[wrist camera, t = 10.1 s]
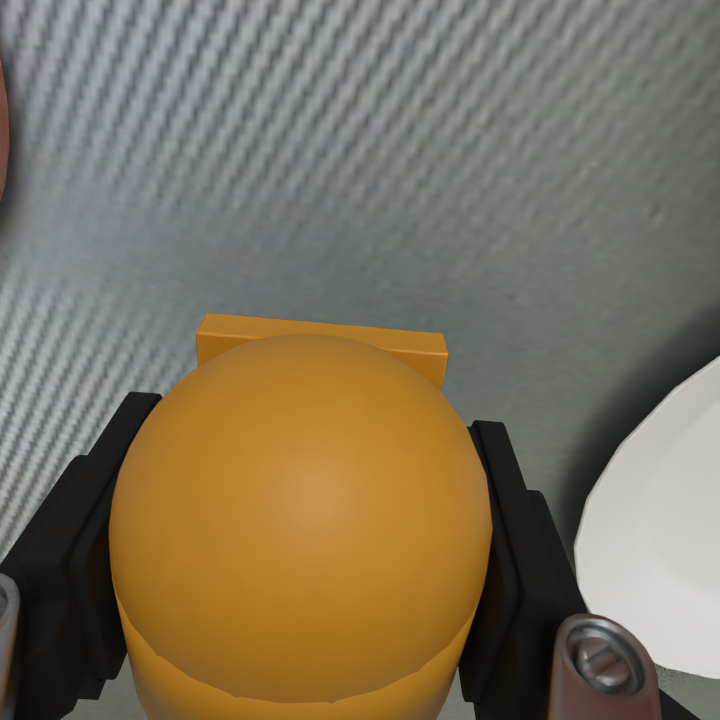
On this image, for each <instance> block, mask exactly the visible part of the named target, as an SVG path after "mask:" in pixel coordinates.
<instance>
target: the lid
mask: <svg viewBox="0 0 720 720" xmlns="http://www.w3.org/2000/svg"><path fill="white" fill-rule="evenodd" d="M9 148H10V146H9V114H8V101H7V95H6V89H5V82H4V76H3V70H2V63H1V58H0V202H1V199H2V195H3V191H4V188H5V184H6V175H7V166H8V157H9Z"/></svg>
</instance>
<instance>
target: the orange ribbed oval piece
mask: <svg viewBox="0 0 720 720" xmlns="http://www.w3.org/2000/svg"><path fill="white" fill-rule="evenodd" d="M196 343H197V357H198V367H197V368H196V369H194V370H193V371H191V372H190V373H189V374H188V375H187V376H186V377H185V378H183V379H182V380H181V381H180V382H179V383H178V384H177V385H176V386H175V387H174V388H173V389H172V390H171V391H170V392H169V393H168V394H167V395H166V396H164V397H163V398H162V399H161V400H160V401H159V402H158V404H157V405H156V406H155V408H154V409H153V410H152V412H151V413H150V414H149V416H148V417H147V418H146V420H145V421H144V423H143V424H142V426H141V428H140V430H139V431H138V433H137V435H136V437H135V438H134V440H133V442H132V443H131V445H130V447H129V449H128V452H127V454H126V457H125V459H124V462H123V464H122V466H121V469H120V471H119V475H118V479H117V483H116V487H115V491H114V495H113V499H112V505H111V514H110V522H109V550H110V564H111V572H112V581H113V585H114V590H115V595H116V599H117V604H118V609H119V614H120V618H121V623H122V628H123V632H124V637H125V642H126V646H127V651H128V656H129V661H130V665H131V670H132V675H133V679H134V683H135V687H136V691H137V694H138V697H139V700H140V703H141V705H142V707H143V709H144V711H145V714H146V716H147V718H148V720H436V718H437V717H438V715H439V713H440V711H441V709H442V707H443V705H444V703H445V701H446V698H447V696H448V693H449V690H450V687H451V684H452V682H453V679H454V676H455V673H456V670H457V667H458V664H459V660H460V657H461V654H462V651H463V648H464V645H465V642H466V639H467V636H468V633H469V630H470V627H471V624H472V621H473V618H474V615H475V612H476V609H477V606H478V603H479V600H480V596H481V593H482V590H483V587H484V583H485V578H486V572H487V567H488V559H489V552H490V545H491V538H492V530H493V528H492V519H491V510H490V501H489V493H488V486H487V478H486V474H485V471H484V469H483V466H482V464H481V461H480V459H479V456H478V454H477V451H476V449H475V446H474V444H473V441H472V439H471V436H470V434H469V431H468V429H467V427H466V426H465V424H464V423H463V422H462V420H461V419H460V417H459V416H458V414H457V413H456V412H455V410H454V409H453V408H452V406H451V405H450V404H449V402H448V401H447V400H446V398H445V397H444V396H443V395H442V393H441V390H442V385H443V380H444V375H445V371H446V366H447V361H448V356H449V355H448V351H447V347H446V343H445V339H444V335H443V334H440V333H429V332H418V331H407V330H395V329H384V328H373V327H362V326H350V325H339V324H328V323H317V322H306V321H294V320H283V319H272V318H261V317H249V316H238V315H227V314H216V313H207V314H206V316H205V318H204V319H203V321H202V323H201V325H200V326H199V328H198V330H197V332H196Z"/></svg>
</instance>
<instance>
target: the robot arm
mask: <svg viewBox="0 0 720 720" xmlns="http://www.w3.org/2000/svg"><path fill="white" fill-rule="evenodd" d="M161 399H162V396H161V395H160V394H155V393H143V392H129V393H128V394H127V396H126V397H125V399H124V400H123V402H122V403H121V405H120V406H119V408H118V409H117V411H116V412H115V414H114V415H113V417H112V419H111V420H110V422H109V423H108V425H107V426H106V428H105V429H104V431H103V432H102V434H101V435H100V437H99V438H98V440H97V442H96V443H95V445H94V446H93V448H92V449H91V451H90V452H89V454H88V455H78V456H76V457H75V458H74V459H73V460H72V461H71V462H70V463H69V465H68V466H67V468H66V469H65V471H64V472H63V474H62V475H61V476H60V478H59V479H58V481H57V482H56V484H55V485H54V487H53V488H52V490H51V491H50V493H49V494H48V496H47V497H46V498H45V500H44V501H43V503H42V504H41V506H40V507H39V509H38V510H37V512H36V513H35V515H34V516H33V518H32V519H31V520H30V522H29V523H28V525H27V526H26V528H25V529H24V531H23V532H22V534H21V535H20V537H19V538H18V539H17V541H16V542H15V544H14V545H13V547H12V548H11V550H10V551H9V553H8V554H7V556H6V557H5V559H4V560H3V561H2V563H1V564H0V720H61V718H63V717H64V716H65V715H67V714H68V713H70V712H71V711H73V709H74V707H75V705H76V702H77V700H78V699H92V700H98V699H99V696H100V694H101V691H102V689H103V686H104V684H105V681H106V679H107V680H114V679H115V678H116V677H117V675H118V674H119V671H120V669H121V667H122V664H123V661H124V659H125V656H126V654H127V646H126V642H125V637H124V632H123V628H122V623H121V618H120V614H119V609H118V604H117V599H116V595H115V590H114V585H113V581H112V572H111V564H110V550H109V522H110V514H111V505H112V499H113V495H114V491H115V487H116V483H117V479H118V475H119V471H120V469H121V466H122V464H123V462H124V459H125V457H126V454H127V452H128V449H129V447H130V445H131V443H132V442H133V440H134V438H135V437H136V435H137V433H138V431H139V430H140V428H141V426H142V424H143V423H144V421H145V420H146V418H147V417H148V416H149V414H150V413H151V412H152V410H153V409H154V408H155V406H156V405H157V404H158V402H159V401H160V400H161ZM467 429H468V431H469V434H470V436H471V439H472V441H473V444H474V446H475V449H476V451H477V454H478V456H479V459H480V461H481V464H482V466H483V469H484V471H485V474H486V478H487V486H488V493H489V501H490V510H491V519H492V528H493V530H492V538H491V545H490V552H489V559H488V567H487V572H486V578H485V583H484V587H483V590H482V593H481V596H480V600H479V603H478V606H477V609H476V612H475V615H474V618H473V621H472V624H471V627H470V630H469V633H468V636H467V639H466V642H465V645H464V648H463V651H462V654H461V657H460V660H459V664H458V668H459V675H460V682H461V689H462V695H463V698H464V701H465V702H473V704H474V710H475V717H476V720H700V719H699V718H697V717H696V716H695V715H693V714H692V713H691V712H690V711H688V710H687V709H686V708H684V707H683V706H682V705H680V704H679V703H678V702H676V701H675V700H674V699H672V698H671V697H670V696H669V695H667V694H666V693H665V692H663V691H662V690H661V689H659V687H658V677H657V673H656V669H655V666H654V662H653V660H652V658H651V657H650V655H649V653H648V651H647V650H646V648H645V647H644V645H643V644H642V643H641V642H640V641H639V640H638V639H637V638H636V637H635V635H634V634H632V633H631V632H630V631H629V630H627V629H626V628H625V627H623V626H622V625H621V624H619V623H617V622H615V621H613V620H611V619H609V618H607V617H605V616H601V615H596V614H592V613H588V611H587V609H586V606H585V603H584V601H583V598H582V595H581V593H580V590H579V588H578V585H577V582H576V580H575V577H574V574H573V572H572V569H571V566H570V564H569V561H568V558H567V556H566V553H565V550H564V548H563V545H562V542H561V540H560V537H559V534H558V532H557V529H556V526H555V524H554V521H553V519H552V516H551V513H550V511H549V508H548V505H547V503H546V500H545V498H544V496H543V494H542V493H541V492H540V491H535V490H527V488H526V486H525V483H524V480H523V477H522V474H521V471H520V468H519V465H518V462H517V459H516V457H515V454H514V451H513V448H512V445H511V442H510V439H509V436H508V433H507V430H506V428H505V425H504V424H503V423H502V422H492V421H480V420H475V421H474V422H473V424H472V426H471V427H467Z"/></svg>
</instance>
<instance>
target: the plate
mask: <svg viewBox="0 0 720 720" xmlns="http://www.w3.org/2000/svg"><path fill="white" fill-rule="evenodd" d="M574 556H575V566H576V576H577V585H578V588H579V590H580V593H581V595H582V598H583V599H584V601H585V603H586V605H587V607H588V609H589V611H590V613H592V614H596V615H601V616H605V617H607V618H609V619H611V620H613V621H615V622H617V623H619V624H621V625H622V626H623V627H625V628H626V629H627V630H629V631H630V632H631V633H632V634H634V635H635V637H636V638H637V639H638V640H639V641H640V642H641V643H642V644H643V645H644V647H645V648H646V650H647V651H648V653H649V655H650V657H651V658H652V660H653V662H654V663H656V664H658V665H661V666H663V667H665V668H669V669H673V670H677V671H682V672H686V673H690V674H694V675H699V676H703V677H707V678H711V679H720V356H718V357H717V358H716V359H714V360H713V361H711V362H710V363H709V364H707V365H706V366H704V367H703V368H702V369H700V370H699V371H697V372H696V373H695V374H693V375H692V376H690V377H689V378H688V379H686V380H685V381H683V382H682V383H681V384H679V385H678V386H676V387H675V388H674V389H673V390H672V391H671V392H670V393H669V394H668V395H667V396H666V397H665V398H664V399H663V400H662V401H661V402H660V403H659V404H658V405H657V406H656V407H655V408H654V409H653V410H652V411H651V412H650V413H649V415H648V416H647V417H646V418H645V419H644V420H643V421H642V422H641V423H640V424H639V425H638V426H637V427H636V428H635V429H634V430H633V431H632V432H631V433H630V434H629V435H628V436H627V437H626V438H625V439H624V440H623V441H622V442H621V443H620V445H619V446H618V448H617V449H616V451H615V453H614V454H613V456H612V458H611V459H610V461H609V462H608V464H607V466H606V467H605V469H604V470H603V472H602V474H601V475H600V477H599V479H598V480H597V482H596V483H595V485H594V487H593V488H592V490H591V492H590V493H589V495H588V496H587V498H586V502H585V506H584V510H583V513H582V517H581V521H580V524H579V528H578V532H577V535H576V539H575V543H574Z"/></svg>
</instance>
